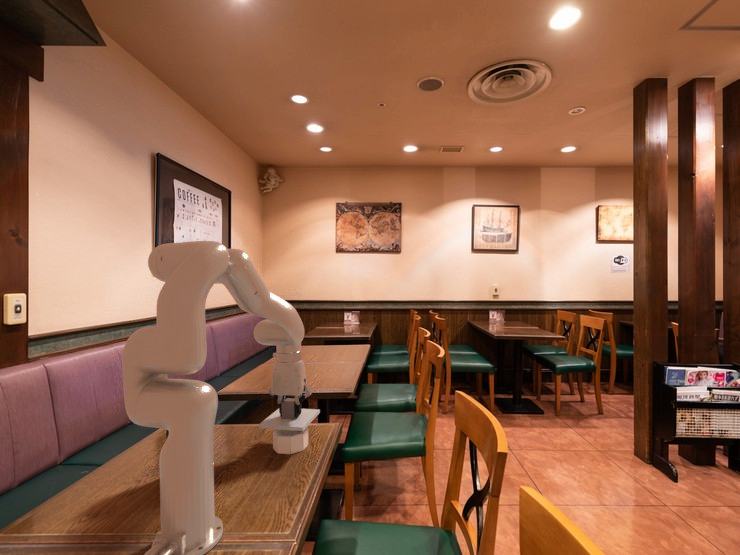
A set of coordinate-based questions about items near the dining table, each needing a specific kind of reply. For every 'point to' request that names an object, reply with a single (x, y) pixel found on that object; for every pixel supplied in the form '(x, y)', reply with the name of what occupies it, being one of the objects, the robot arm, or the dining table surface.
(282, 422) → the lid
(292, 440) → the bowl
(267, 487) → the dining table surface
